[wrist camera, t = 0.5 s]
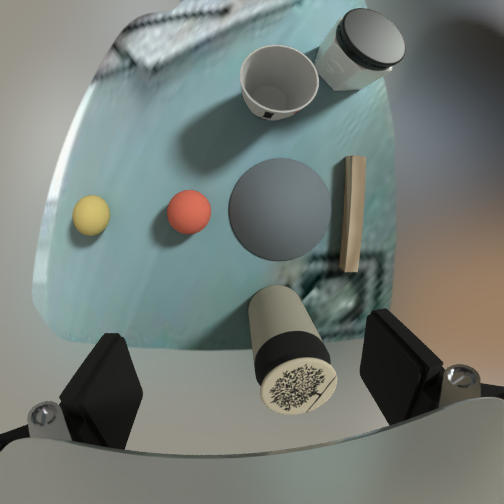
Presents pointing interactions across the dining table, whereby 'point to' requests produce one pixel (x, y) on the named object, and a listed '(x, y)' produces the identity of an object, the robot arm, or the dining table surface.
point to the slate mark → (280, 209)
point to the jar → (359, 50)
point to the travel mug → (288, 353)
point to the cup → (278, 81)
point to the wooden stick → (352, 213)
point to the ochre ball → (91, 215)
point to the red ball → (189, 212)
